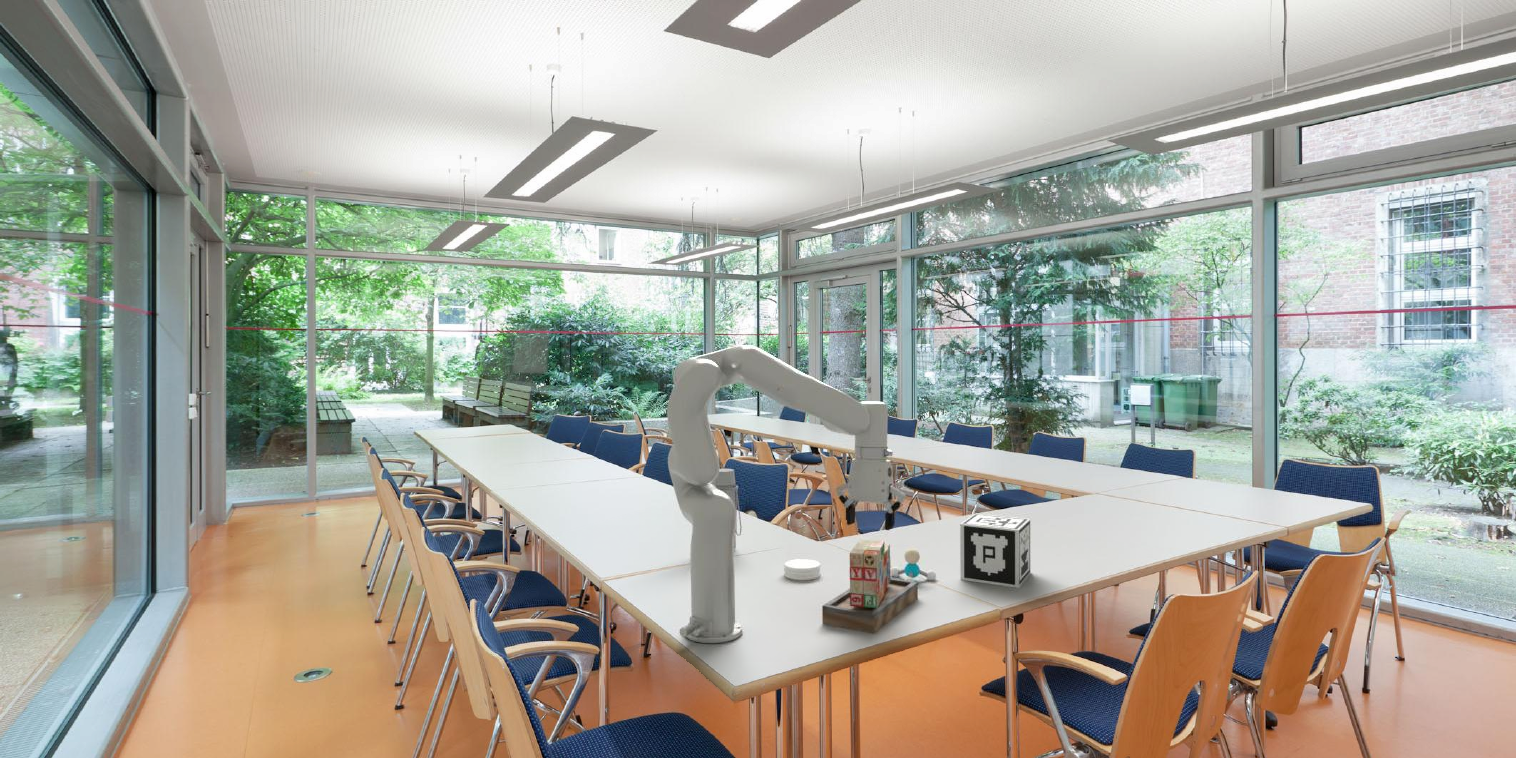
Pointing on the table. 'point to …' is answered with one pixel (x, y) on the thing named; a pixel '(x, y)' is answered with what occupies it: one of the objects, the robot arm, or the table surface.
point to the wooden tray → (870, 618)
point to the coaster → (802, 569)
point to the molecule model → (912, 567)
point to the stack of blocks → (869, 573)
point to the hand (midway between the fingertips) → (869, 526)
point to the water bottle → (728, 490)
